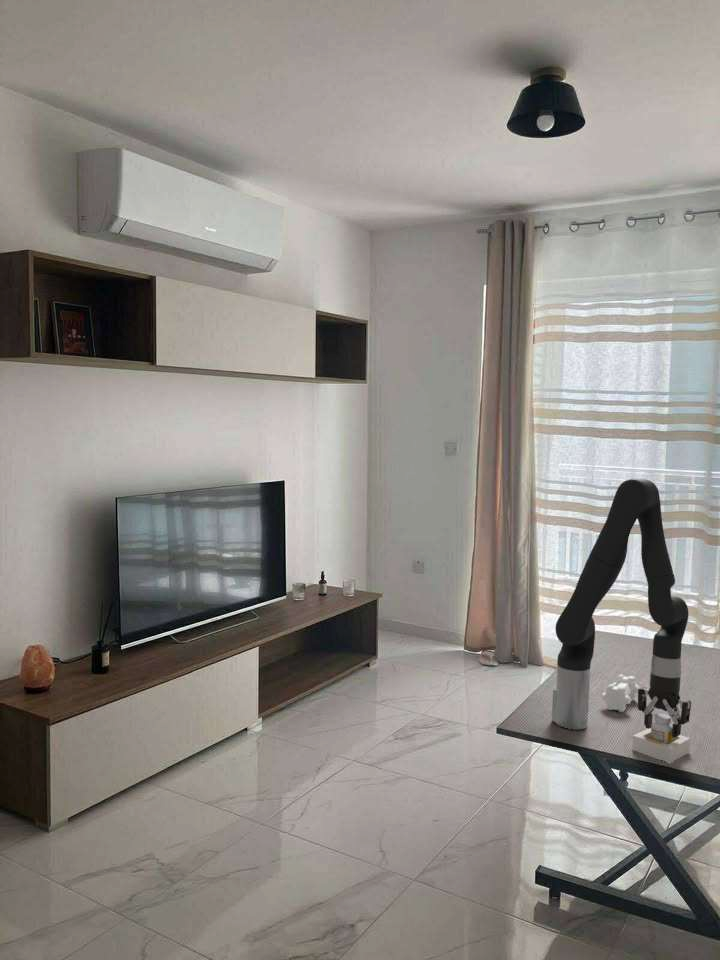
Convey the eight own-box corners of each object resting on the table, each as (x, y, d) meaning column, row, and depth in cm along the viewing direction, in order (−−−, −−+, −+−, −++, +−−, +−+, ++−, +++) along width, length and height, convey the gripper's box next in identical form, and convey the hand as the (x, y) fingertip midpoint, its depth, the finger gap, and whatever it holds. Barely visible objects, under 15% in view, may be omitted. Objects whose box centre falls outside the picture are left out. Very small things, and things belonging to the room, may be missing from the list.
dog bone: (614, 697, 256) (613, 672, 256) (642, 700, 251) (641, 674, 251) (601, 711, 243) (599, 684, 243) (629, 714, 239) (628, 688, 238)
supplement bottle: (666, 747, 216) (668, 712, 215) (674, 755, 211) (677, 720, 210) (646, 747, 216) (648, 712, 215) (654, 755, 210) (656, 719, 210)
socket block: (632, 750, 214) (633, 734, 213) (652, 740, 221) (653, 725, 220) (669, 763, 206) (670, 747, 205) (689, 752, 213) (690, 737, 212)
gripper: (633, 667, 214) (629, 727, 216) (684, 682, 204) (681, 744, 205) (647, 662, 219) (644, 720, 221) (698, 676, 209) (694, 737, 210)
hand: (661, 732), depth 213 cm, fingers open, 7 cm apart
